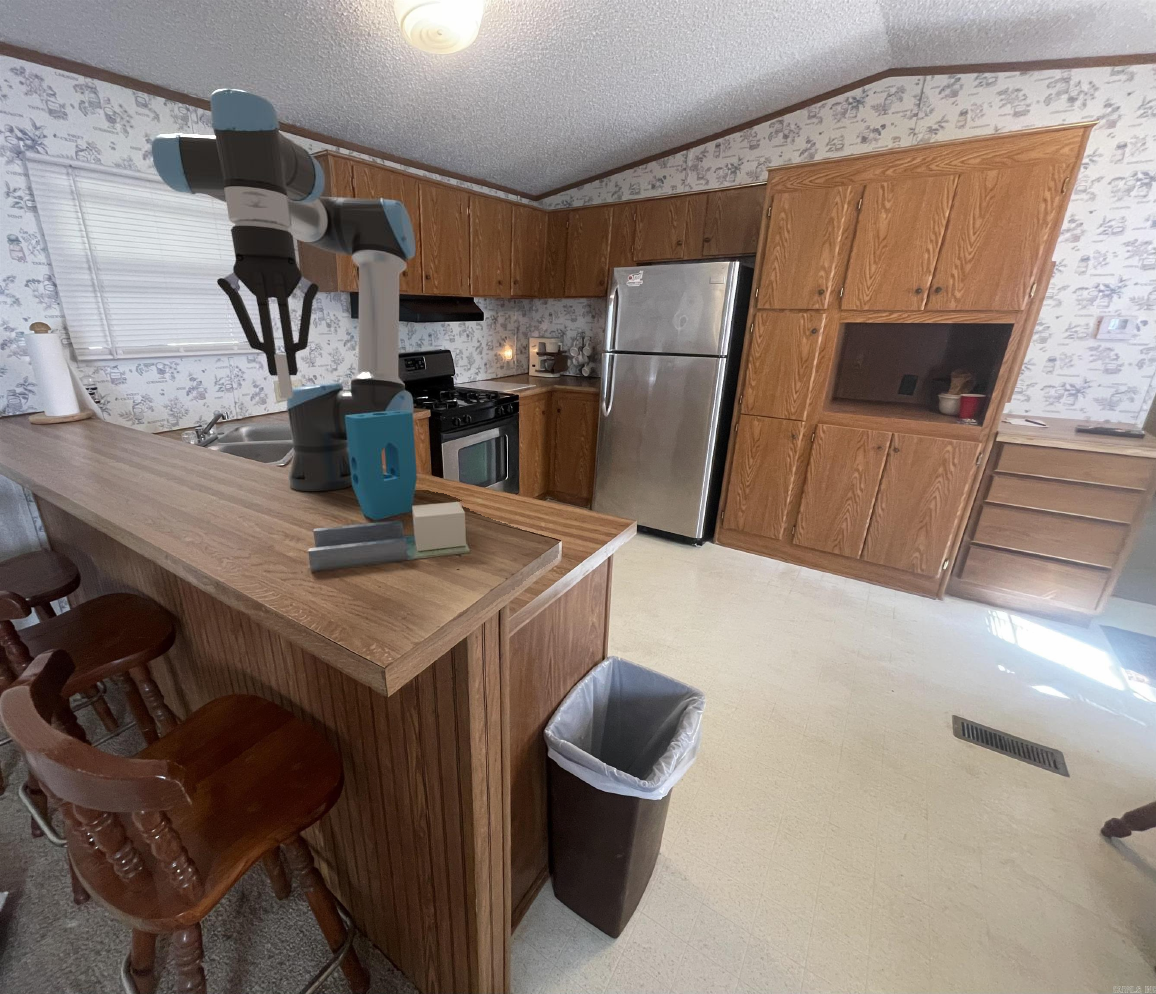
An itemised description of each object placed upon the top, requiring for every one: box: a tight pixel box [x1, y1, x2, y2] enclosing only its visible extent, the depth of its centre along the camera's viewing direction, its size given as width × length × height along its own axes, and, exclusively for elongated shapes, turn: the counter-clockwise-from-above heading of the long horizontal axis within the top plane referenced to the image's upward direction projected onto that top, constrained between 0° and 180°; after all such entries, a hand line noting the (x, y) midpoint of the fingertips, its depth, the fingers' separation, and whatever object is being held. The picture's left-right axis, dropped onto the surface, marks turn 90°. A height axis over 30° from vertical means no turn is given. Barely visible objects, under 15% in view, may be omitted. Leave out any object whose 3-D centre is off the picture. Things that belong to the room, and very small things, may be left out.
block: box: [345, 410, 418, 521], centre depth 100 cm, size 12×5×20 cm, turn 141°
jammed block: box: [411, 501, 467, 551], centre depth 87 cm, size 6×8×6 cm
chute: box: [307, 520, 471, 573], centre depth 85 cm, size 10×24×3 cm, turn 112°
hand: (287, 397), depth 79 cm, fingers closed
